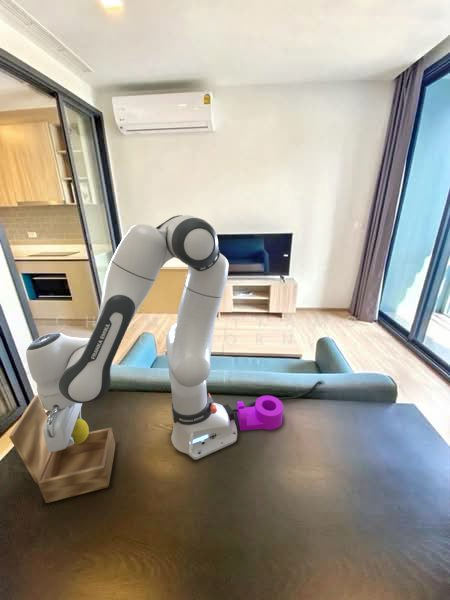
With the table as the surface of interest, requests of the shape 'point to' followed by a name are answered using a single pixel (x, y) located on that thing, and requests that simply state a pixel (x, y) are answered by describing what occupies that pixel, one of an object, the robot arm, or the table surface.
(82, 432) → the lemon
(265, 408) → the magenta bearing bracket
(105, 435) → the chest
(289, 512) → the table surface
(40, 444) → the lid
